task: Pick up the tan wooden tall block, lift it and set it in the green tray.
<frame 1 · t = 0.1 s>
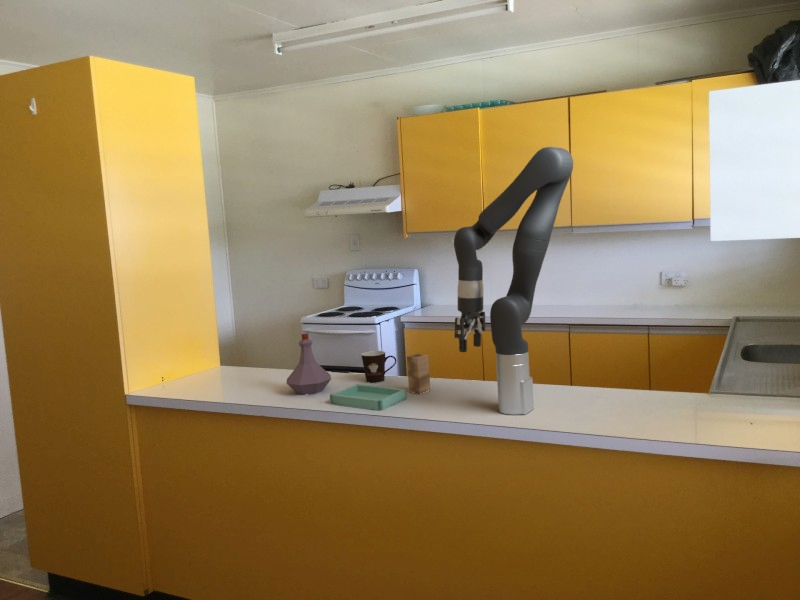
hand: (470, 349, 200), 17 cm above the counter, tool pointing down, fingers open, 8 cm apart
tan wooden tall block: (419, 391, 223), on the counter
green tray: (368, 401, 215), on the counter
coffee mug: (379, 381, 241), on the counter
flask: (309, 391, 234), on the counter
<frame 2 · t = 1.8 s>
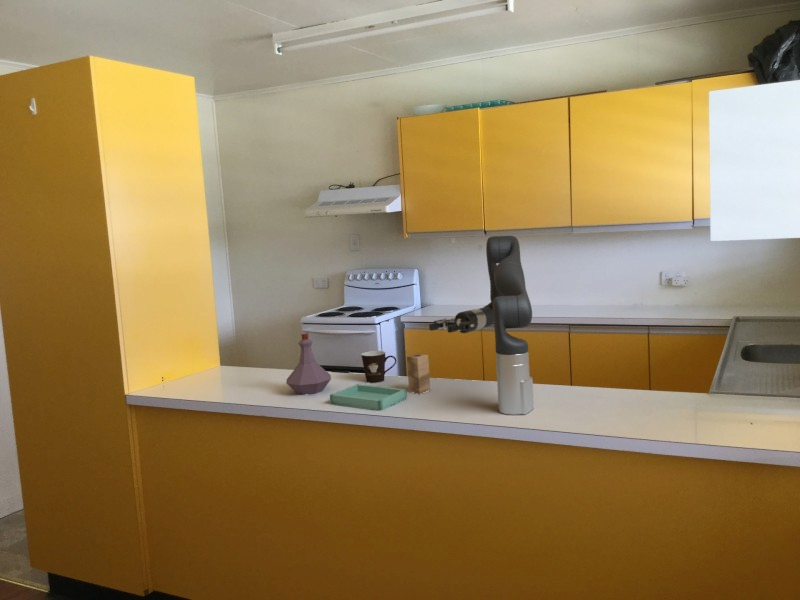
hand: (439, 328, 228), 19 cm above the counter, tool horizontal, fingers open, 8 cm apart
nothing on the counter moved.
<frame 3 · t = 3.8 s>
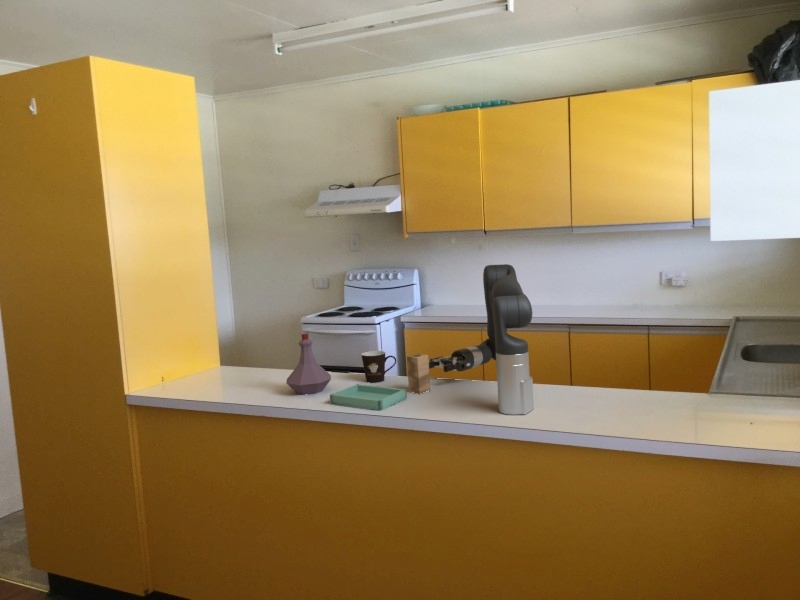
hand: (435, 367, 227), 6 cm above the counter, tool horizontal, fingers open, 8 cm apart
nothing on the counter moved.
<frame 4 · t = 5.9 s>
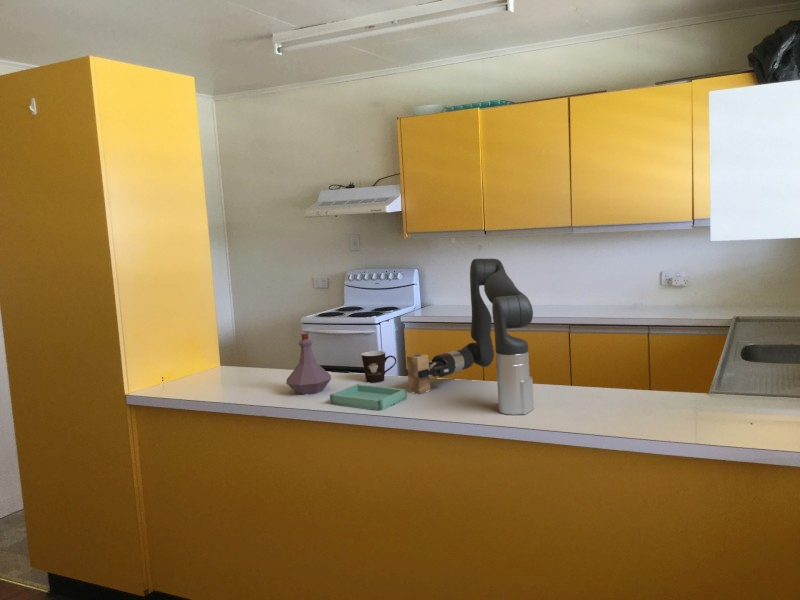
hand: (412, 373, 220), 7 cm above the counter, tool horizontal, fingers closed on tan wooden tall block, 5 cm apart
tan wooden tall block: (419, 391, 223), on the counter, touching gripper
everything else where it was.
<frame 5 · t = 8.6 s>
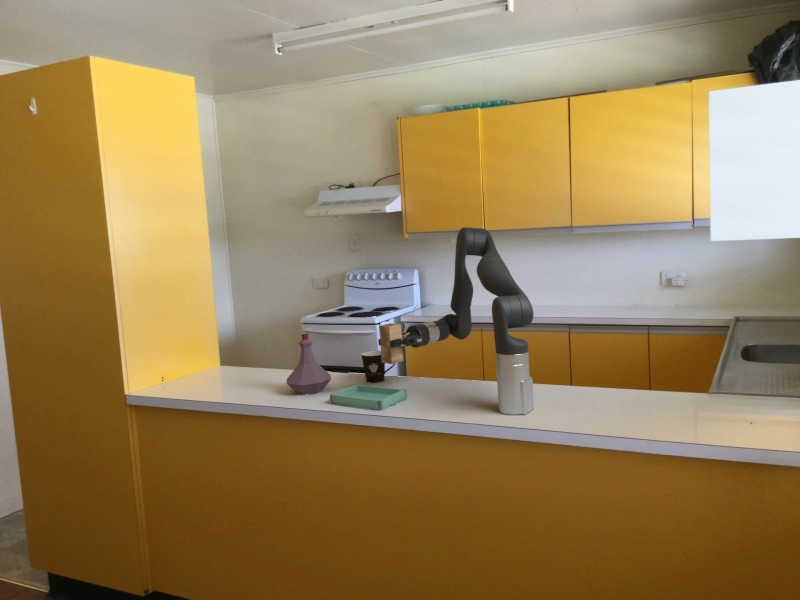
hand: (385, 343, 215), 18 cm above the counter, tool horizontal, fingers closed on tan wooden tall block, 5 cm apart
tan wooden tall block: (392, 361, 218), point 11 cm above the counter, touching gripper
everything else where it was.
when the fingers open (8 cm above the counter, at t = 11.4 s): tan wooden tall block stays where it is, resting on green tray.
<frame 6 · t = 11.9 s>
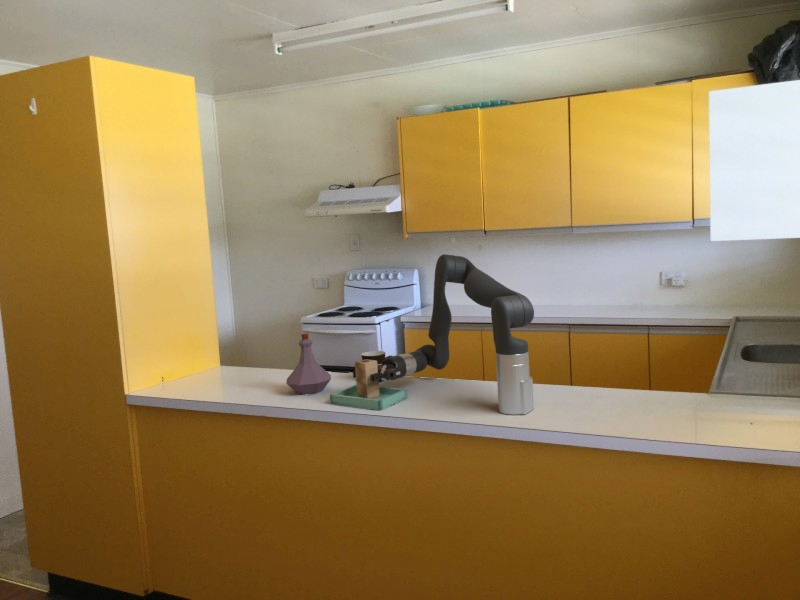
hand: (362, 376, 213), 8 cm above the counter, tool horizontal, fingers open, 8 cm apart
tan wooden tall block: (368, 398, 215), point 1 cm above the counter, touching green tray
everything else where it was.
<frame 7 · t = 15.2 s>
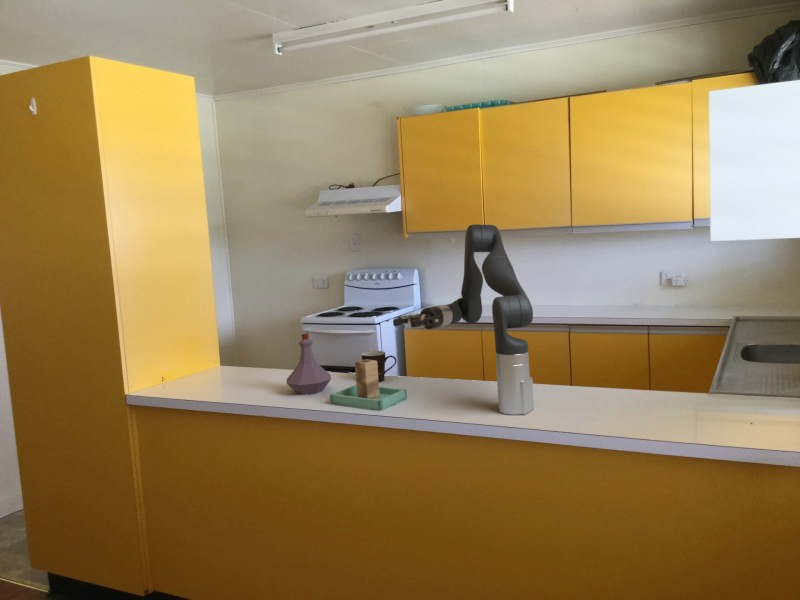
hand: (402, 323, 223), 23 cm above the counter, tool horizontal, fingers open, 8 cm apart
nothing on the counter moved.
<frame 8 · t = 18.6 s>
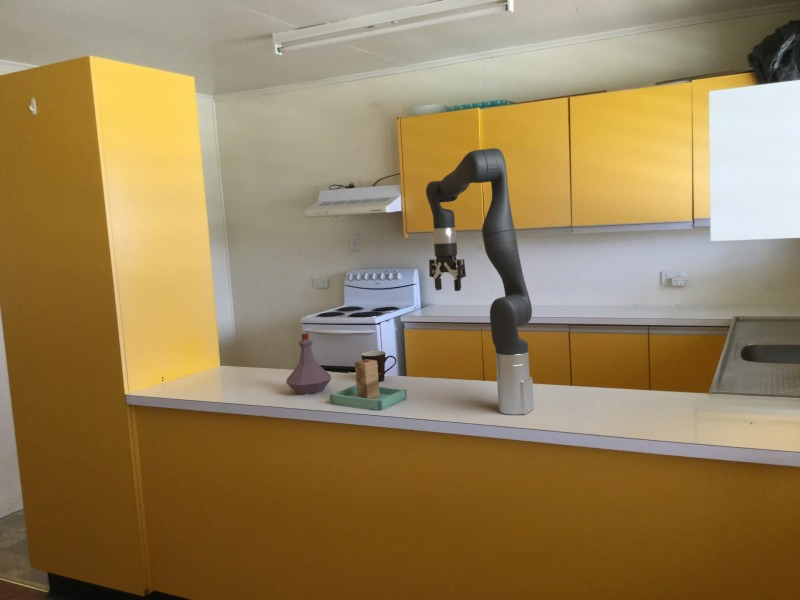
hand: (448, 290, 225), 32 cm above the counter, tool pointing down, fingers open, 8 cm apart
nothing on the counter moved.
at the end: tan wooden tall block inside the target area on the green tray (0.1 cm from its centre), point 1.0 cm above the green tray's base; tan wooden tall block tilted 0°; the gripper is holding nothing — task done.
